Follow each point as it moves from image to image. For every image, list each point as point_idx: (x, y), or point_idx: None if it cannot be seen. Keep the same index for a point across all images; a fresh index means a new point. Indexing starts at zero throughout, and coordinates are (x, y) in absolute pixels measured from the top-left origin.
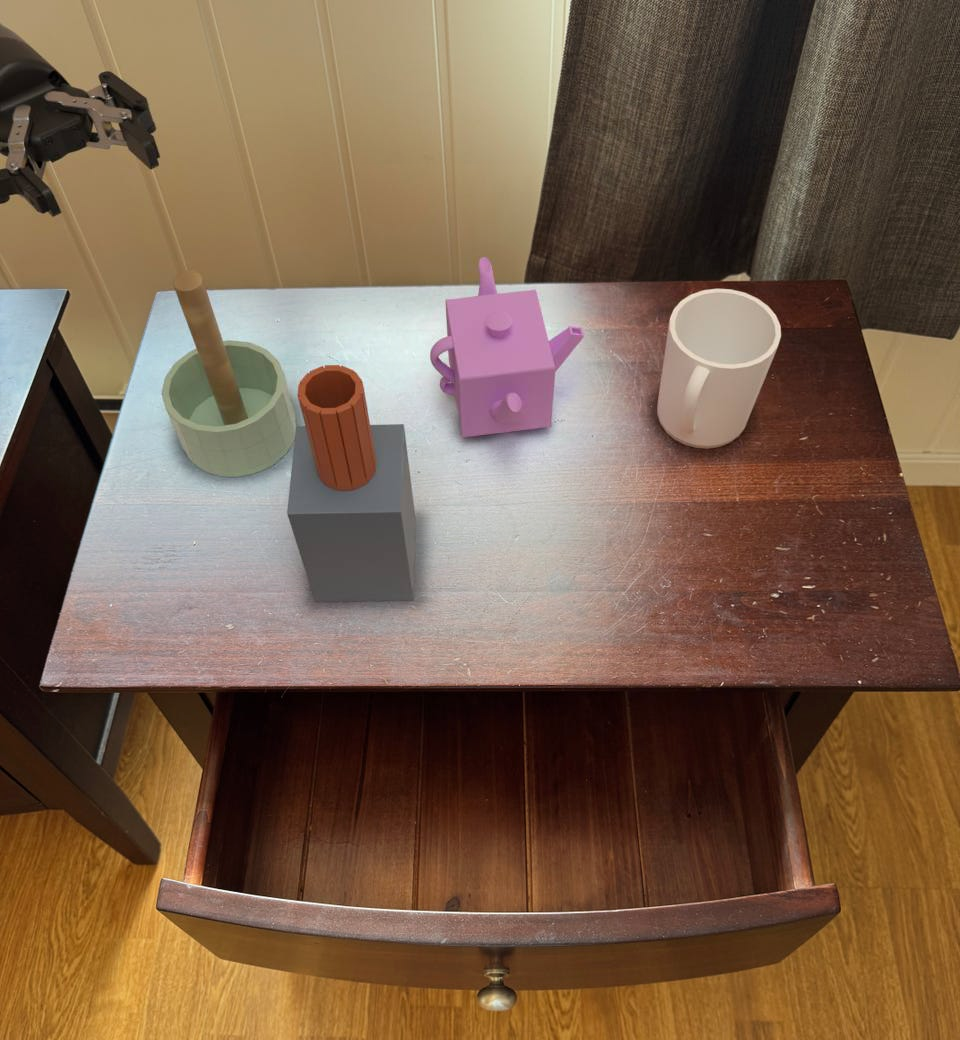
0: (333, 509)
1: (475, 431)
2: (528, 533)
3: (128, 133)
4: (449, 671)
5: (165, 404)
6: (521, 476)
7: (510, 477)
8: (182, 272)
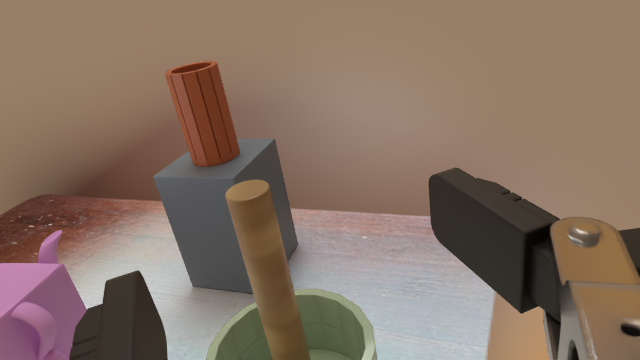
0: (243, 140)
1: None
2: (128, 267)
3: (138, 337)
4: None
5: (371, 330)
6: (89, 306)
7: None
8: (247, 198)
